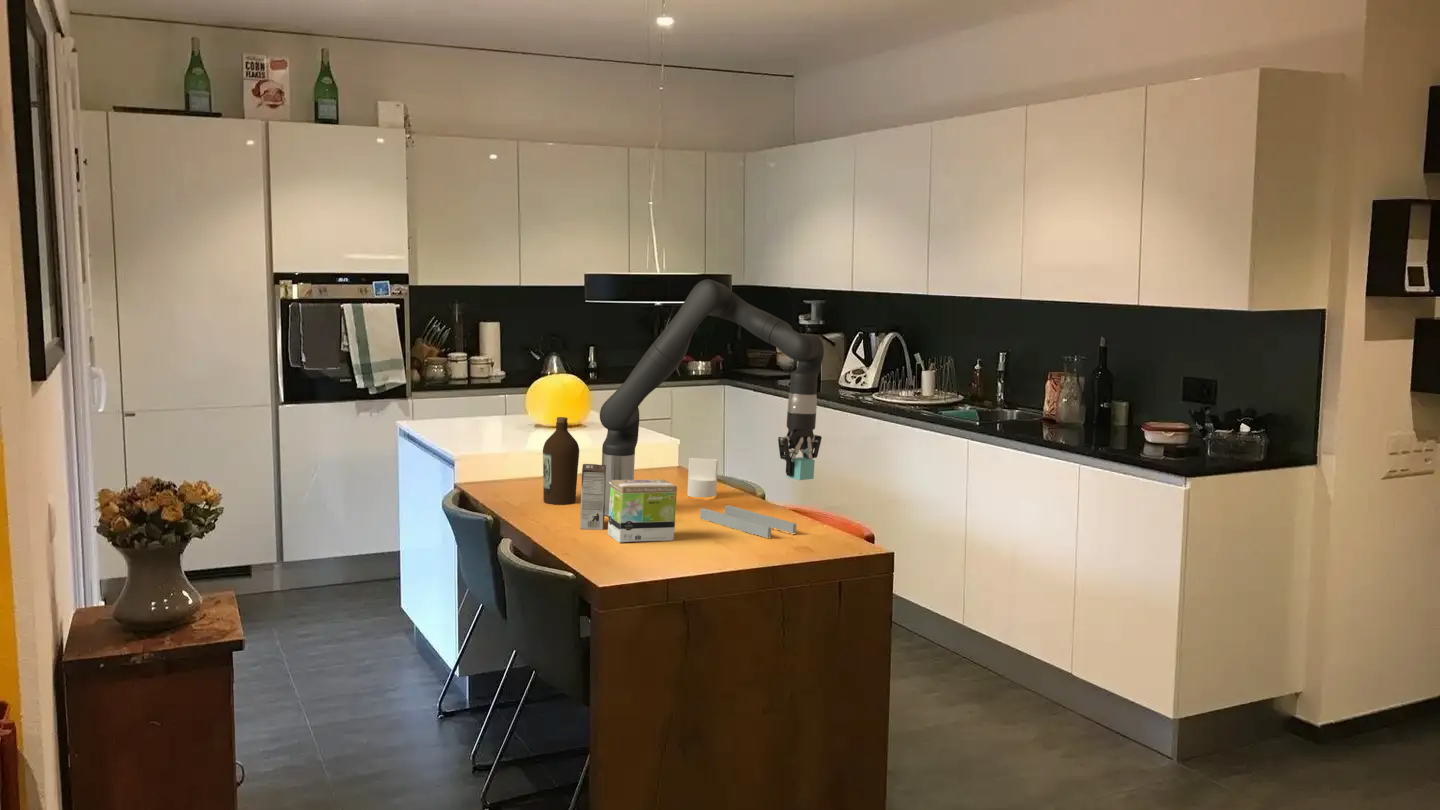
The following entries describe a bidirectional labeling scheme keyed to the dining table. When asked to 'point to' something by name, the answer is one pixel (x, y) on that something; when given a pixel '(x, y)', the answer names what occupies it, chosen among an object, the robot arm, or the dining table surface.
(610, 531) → the tea box
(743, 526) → the rails
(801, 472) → the teal block
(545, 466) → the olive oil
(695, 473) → the cylinder with rectangular tab
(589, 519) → the coffee box
